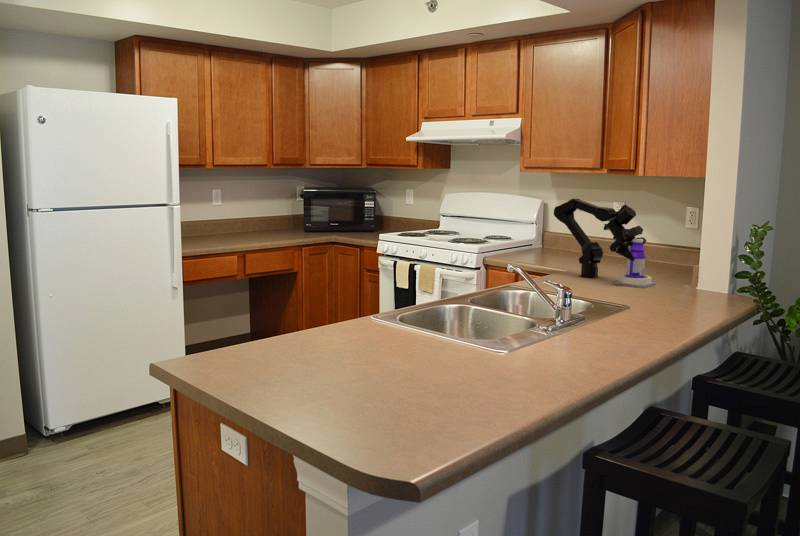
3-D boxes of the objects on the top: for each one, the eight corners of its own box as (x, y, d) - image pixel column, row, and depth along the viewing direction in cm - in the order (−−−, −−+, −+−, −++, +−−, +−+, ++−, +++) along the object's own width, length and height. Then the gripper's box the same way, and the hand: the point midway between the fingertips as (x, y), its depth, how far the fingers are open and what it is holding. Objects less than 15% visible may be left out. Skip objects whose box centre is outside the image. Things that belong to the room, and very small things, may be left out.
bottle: (637, 278, 291) (640, 238, 288) (646, 280, 285) (649, 239, 283) (623, 278, 288) (626, 238, 286) (632, 281, 283) (635, 239, 280)
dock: (613, 284, 287) (614, 276, 286) (627, 281, 296) (627, 273, 296) (643, 288, 278) (644, 280, 277) (656, 284, 287) (656, 276, 287)
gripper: (617, 220, 281) (638, 249, 274) (644, 218, 291) (665, 246, 284) (600, 237, 288) (620, 266, 281) (627, 235, 299) (647, 262, 292)
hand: (639, 259), depth 284 cm, fingers closed on bottle, 7 cm apart
